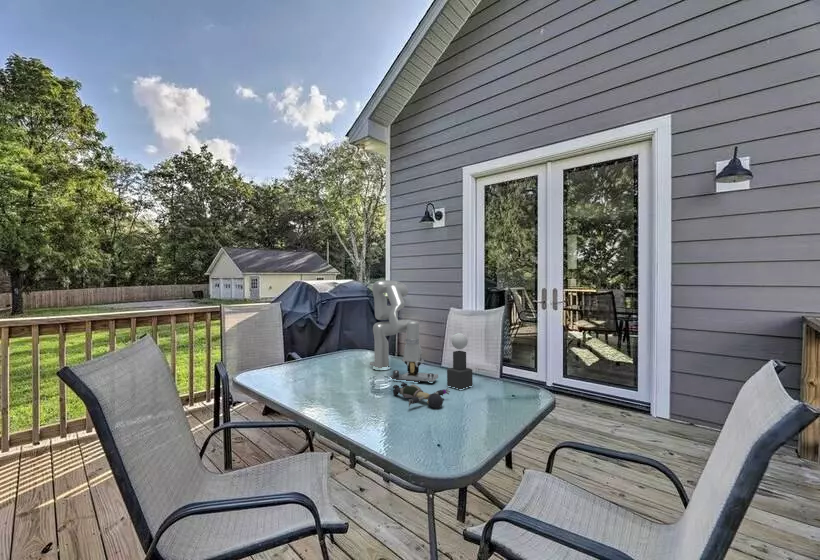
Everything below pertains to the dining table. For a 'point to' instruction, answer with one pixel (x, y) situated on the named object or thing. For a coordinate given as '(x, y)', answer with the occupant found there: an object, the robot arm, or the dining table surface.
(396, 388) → the toy
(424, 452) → the dining table surface
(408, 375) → the grey flat block
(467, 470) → the dining table surface
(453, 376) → the sculpture
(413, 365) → the pin
